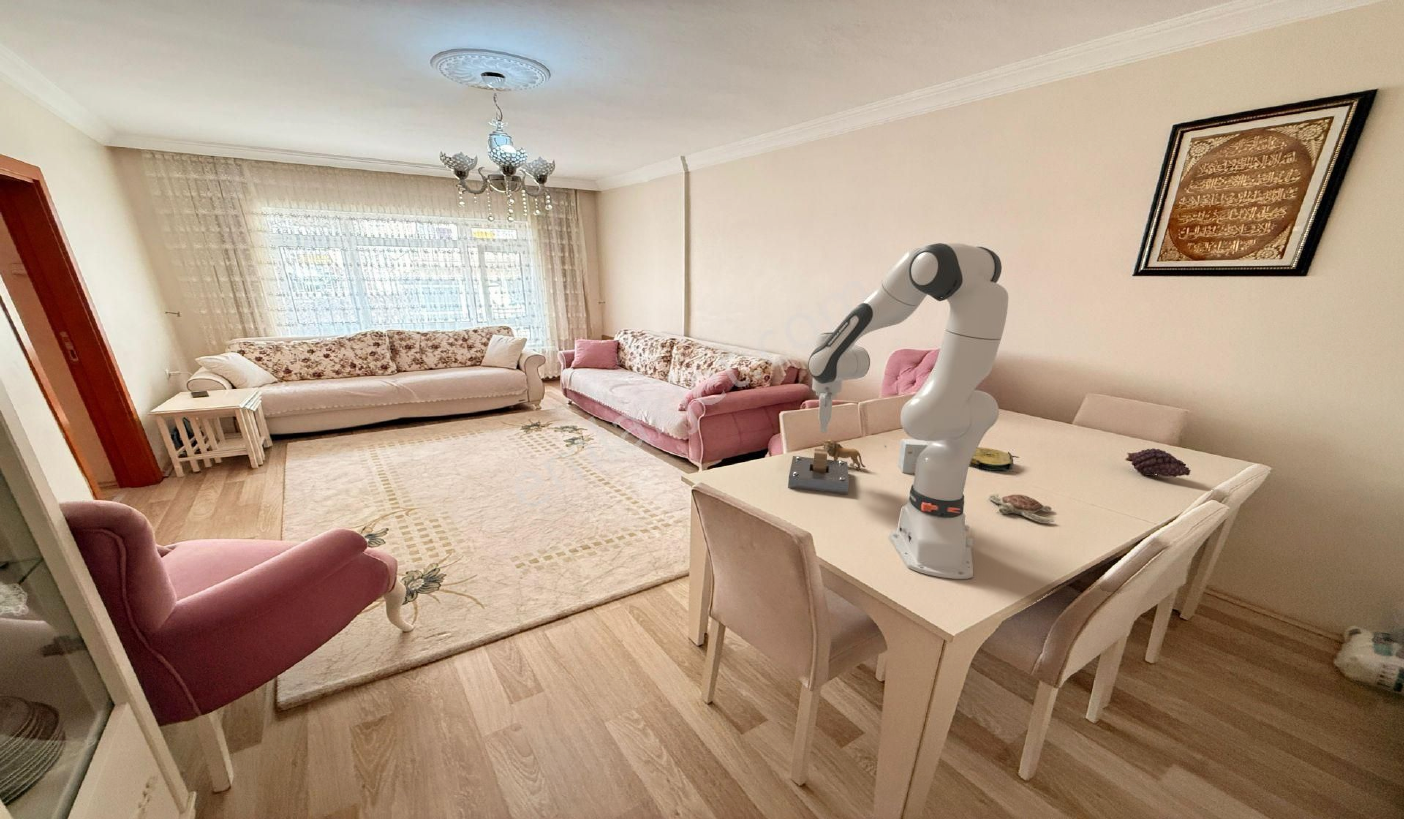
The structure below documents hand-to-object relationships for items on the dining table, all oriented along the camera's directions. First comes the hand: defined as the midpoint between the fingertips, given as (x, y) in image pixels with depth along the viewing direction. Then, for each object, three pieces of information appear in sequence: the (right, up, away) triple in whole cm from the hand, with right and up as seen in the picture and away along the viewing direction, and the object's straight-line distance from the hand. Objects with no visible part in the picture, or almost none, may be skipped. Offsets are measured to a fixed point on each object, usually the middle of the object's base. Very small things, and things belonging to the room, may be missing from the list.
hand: (823, 427), depth 155 cm
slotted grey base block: (0, -17, +5) cm, 18 cm away
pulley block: (+59, -14, +24) cm, 65 cm away
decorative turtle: (+53, -24, -13) cm, 60 cm away
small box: (+34, -16, +15) cm, 40 cm away
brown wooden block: (0, -17, +5) cm, 18 cm away
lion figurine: (+11, -14, +17) cm, 25 cm away
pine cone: (+116, -18, +14) cm, 118 cm away
